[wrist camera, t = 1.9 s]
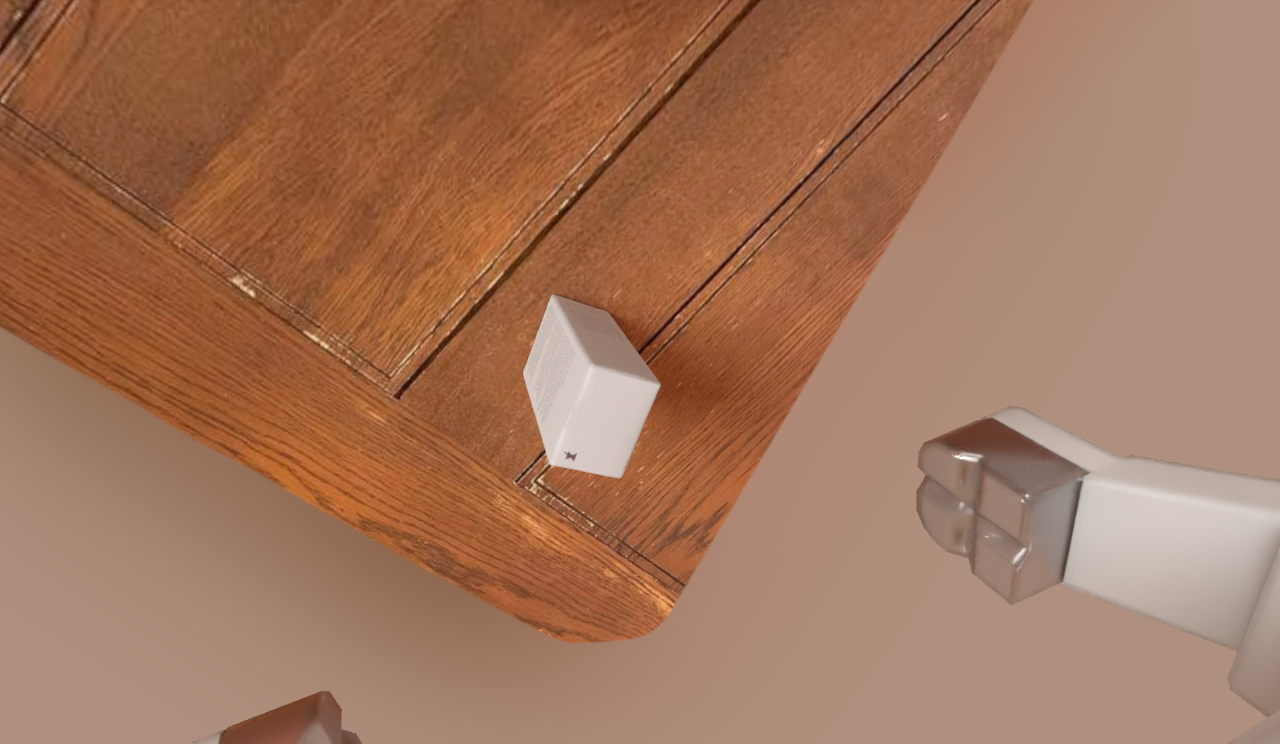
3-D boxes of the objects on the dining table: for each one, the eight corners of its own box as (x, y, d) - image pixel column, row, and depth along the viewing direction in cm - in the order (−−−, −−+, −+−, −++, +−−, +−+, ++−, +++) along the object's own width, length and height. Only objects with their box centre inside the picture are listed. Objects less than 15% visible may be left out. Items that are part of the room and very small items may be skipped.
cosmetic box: (579, 388, 46) (620, 483, 36) (521, 373, 45) (546, 468, 34) (611, 309, 45) (664, 384, 34) (551, 289, 43) (588, 362, 32)
